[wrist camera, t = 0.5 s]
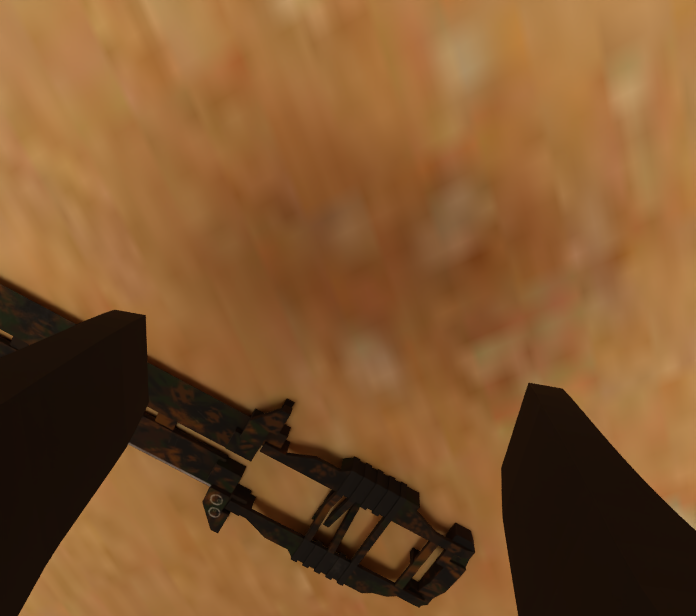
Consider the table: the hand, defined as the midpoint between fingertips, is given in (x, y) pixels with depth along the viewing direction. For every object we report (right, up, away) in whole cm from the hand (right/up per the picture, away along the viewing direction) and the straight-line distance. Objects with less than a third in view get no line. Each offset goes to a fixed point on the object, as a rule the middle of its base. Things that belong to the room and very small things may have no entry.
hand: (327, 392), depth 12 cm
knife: (-6, -3, +13) cm, 15 cm away
